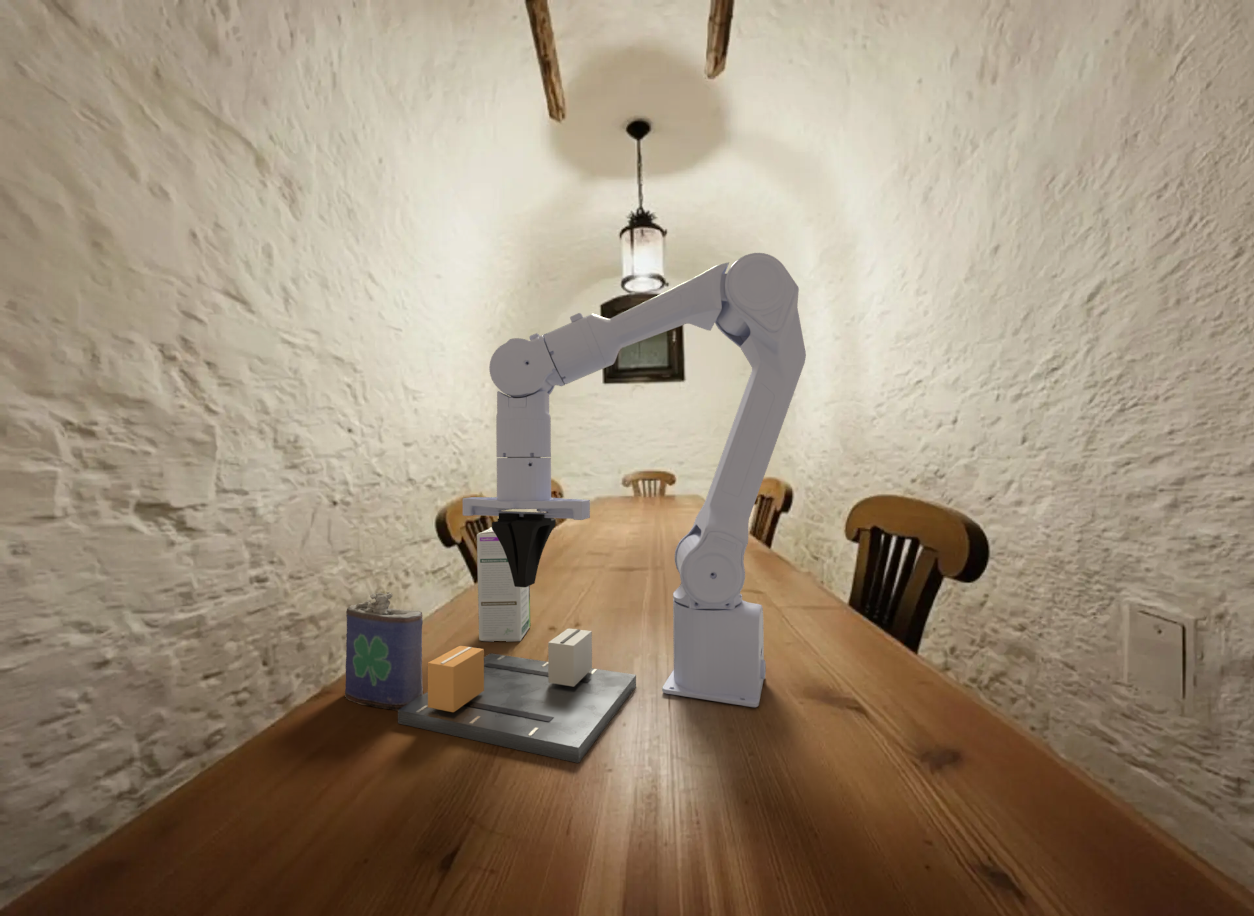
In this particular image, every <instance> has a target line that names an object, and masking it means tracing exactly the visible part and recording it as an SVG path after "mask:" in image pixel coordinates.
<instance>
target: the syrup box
mask: <svg viewBox="0 0 1254 916" xmlns="http://www.w3.org/2000/svg"><path fill="white" fill-rule="evenodd" d="M476 547H477V548H476V553H477V554H476V555H477V558H476V559H477V561H476V562H477V603H478V604H477V605H478V614H477V615H478V641H481V642H494V641H506V642H521V641H522V639H523V637H524V636H525V635H526V633H527V632H528V630H529V629H530V627H531V590H530V588H531V585H530V586H528V587H515V586H514V582H513V578H512V574H511V570H510V566H509V563H508V560H507V557H506V554H505V552H504V549H503V547H502V545H501V543H500V541H499V539H498V538H497V536H496V534H495V533H494V531H493V530H492V526H491V527H489V528H488V529H485V530H483V531H482V532H478V533H477V534H476Z"/></svg>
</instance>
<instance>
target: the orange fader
mask: <svg viewBox="0 0 1254 916" xmlns="http://www.w3.org/2000/svg"><path fill="white" fill-rule="evenodd" d="M484 650H485V649H484V648H480V647H479V648H477V647H472V646H464V645H459V646H457V647H455V648H453V649H450V650H449V651H447V652H446V653H443V654H441V655H440V656H438V657H436V658H434V659H433V660H430V661H428V662H427V692H428V707H429V708H434V709H439V710H444V711H449V712H455V711H456V710H458V709H459V708H460V707H462V706H463V705H465V704H466V703H467V702H469V701H470V700H472V699H473V698H474V697H476V696H477V695H479V694H480V693H481V692H483V691H484V657H485V651H484Z"/></svg>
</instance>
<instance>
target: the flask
mask: <svg viewBox="0 0 1254 916" xmlns="http://www.w3.org/2000/svg"><path fill="white" fill-rule="evenodd" d="M369 595H370V596H369V597H370V598H371V600H375V601H374V602H371V600H366V601H364V602H360V603H357V604H352V605H350V606H348V607H347V608H346V612H345V613H346V615H345V616H346V635H345V638H346V643H345V644H346V645H345V647H346V649H345V650H346V652H345V653H346V654H345V684H344V685H345V691H344V693H345V694H344V697H346V698H345V699H347V700H348V701H351V702H353V703H355V704H356V703H357V704H358V705H362V706H372V707H373V708H378V709H379V708H380V709H386V710H392V711H395V712H396V711H397V712H398V710H399V709H400V708H402V707H404V706H405V705H407V704H408V703H410V702H412V701H413V700H415V699H417V698H418V697H420V696H422V695H423V694H424V691H423V690H424V687H423V654H422V652H423V647H422V645H423V621H424V620H423V612H422V611H419V610H410V609H409V610H408V609H395V608H390V605H391V601H390V599H392V597H393V596H394V595H393V592H390V591H386V593H383V592H376V593H375V592H373V593H371V594H369Z"/></svg>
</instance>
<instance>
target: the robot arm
mask: <svg viewBox="0 0 1254 916" xmlns="http://www.w3.org/2000/svg"><path fill="white" fill-rule="evenodd" d="M729 265H730V262H729V261H728V262H724V263H720V264H717V265H714V266H713V267H711V268H710V269H708V270H707V269H706V270H705V271H704V272H702V273H700V274H698V275H696V276H695V277H693V278H690V279H688V280H687V281H684V282H682V283H681V284H678V285H676V286H674V287H673V288H670V289H668V290H667V291H665V292H662V293H660V294H658V295H657V296H654V297H652V298H649V299H648V300H645V301H644V302H642V303H640V304H637V305H636V306H633V307H631V308H629V309H628V310H626V311H624V312H620V313H619V314H617V315H615V316H612V317H611V318H607V317H603V316H600V315H598V314H595V313H590V314H588V315H586V316H583V314H582V313H581V312H577V313H575V314H572V315H571V316H570V317H569V318H570V323H568V324H564V325H563V326H561V327H558V328H556V329H553V330H551V331H549V332H547V333H544V334H542V335H539V333H538V332H536V333H534V334H531V335H530V336H528V337H529V340H528V339H526V338H519V337H516V338H515V337H514V338H509V339H508V340H507V342H505V343H503V344H502V345H499V346H498V348H497V349H495V351H494V352H493V354H492V356H491V359H490V362H489V369H488V370H489V376H490V377H491V381H492V382H493V384H494V385H495V387H496V388H497V389H498V390H497V391H496V419H495V421H496V422H495V423H496V425H495V426H496V433H495V434H496V441H495V443H496V497H495V496H494V497H493V496H491V497H487V496H485V497H484V496H483V497H482V496H479V497H478V496H476V497H475V496H473V497H463V498H462V516H464V517H471V516H473V517H474V516H486V517H487V516H488V517H489V516H491V517H498V518H497V520H496V521H492V522H491V527H492V530H493V531H494V533H495V534H496V536H497V538H498V539H499V541H500V543H501V545H502V547H503V549H504V552H505V554H506V557H507V560H508V563H509V566H510V570H511V574H512V578H513V582H514V586H515V587H528V586H530V587H531V586H532V585H534V584H536V578H537V573H538V569H539V564H540V561H541V557H542V555H543V551H544V550H545V546H546V544H547V541H548V539H549V537H550V535H551V533H552V531H553V530H554V528H555V526H556V519H570V520H571V519H572V520H574V521H583V520H586V519H587V520H588V519H590V517H591V515H590V514H591V513H590V512H591V511H590V509H591V503H590V502H591V501H590V499H578V498H565V497H564V498H563V497H561V498H560V497H552V447H551V446H552V444H551V443H552V437H551V436H552V434H551V432H552V431H551V430H552V429H551V427H552V420H551V414H550V395H551V394H552V393H553V391H554V389H555V387H556V386H558V387H563V386H566V385H568V384H570V383H572V382H575V381H577V380H579V379H582V378H584V377H587V376H590V375H592V374H594V373H596V372H599V371H600V370H603V369H605V368H608V367H610V366H612V365H614V364H615V363H616V360H617V357H618V354H619V352H620V350H622V349H623V348H625V347H629V346H631V345H633V344H637V343H639V342H642V341H644V340H647V339H649V338H650V339H651V338H652V337H654V336H658V335H660V334H662V333H665V332H668V331H670V330H673V329H676V328H679V327H682V326H684V325H686V324H688V325H692V326H695V327H698V328H701V329H703V330H706V331H708V332H709V331H711V330H712V329H713V326H714V325H715V326H716V327H717V329H718V330H719V331H720V332H721V333H722V334H723V335H724V336H725V337H726V338H728V339H729V340H730V341H731V342H732V343H734V344H735V345H736V346H737V347H739V348H740V350H741V352H742V353H743V355H744V356H745V358H746V360H747V361H748V363H749V366H751V372H750V375H749V377H748V381H747V383H746V385H745V389H744V391H743V394H742V397H741V400H740V403H739V405H738V407H737V412H736V414H735V416H734V420H733V422H732V425H731V428H730V431H729V433H728V436H727V439H726V442H725V444H724V448H723V450H722V452H721V456H720V459H719V462H718V464H717V468H716V469H715V473H714V476H713V478H712V480H711V484H710V487H709V489H708V491H707V492H708V493H707V496H706V498H705V501H704V502H703V505H702V507H701V508H700V510H699V511H698V513H697V515H696V517H695V519H694V522H693V525H692V527H691V529H690V530H688V532H687V534H686V535H684V536H683V537H682V538H681V539H680V540H679V542H678V544H677V545H676V548H675V550H674V564H675V566H676V569H677V572H678V573H679V579H680V584H679V586H678V587H677V588H676V589H675V590H674V591H673V592H672V601H673V602H672V604H673V606H672V611H673V613H672V614H673V616H672V617H673V618H672V619H673V626H672V627H673V629H672V630H673V632H672V633H673V634H672V635H673V638H672V639H673V642H672V643H673V670H672V671H671V673H670V675H669V676H668V677H667V679H666V681H665V683H664V684H663V686H662V688H661V689H662V690H661V691H662V693H664V694H666V695H667V694H668V695H674V696H681V697H686V698H691V699H700V700H706V701H712V702H718V703H723V704H731V705H738V706H744V707H748V708H749V707H750V708H757V707H759V705H760V699H761V694H762V690H763V684H764V680H765V679H766V671H767V670H766V668H767V667H766V659H764V657H765V656H764V655H765V652H764V651H765V650H764V645H765V643H764V642H765V641H764V634H765V633H764V611H763V610H764V608H763V605H762V604H759V603H753V602H748V601H746V600H743V594H741V591H742V590H743V588H744V584H745V581H746V571H745V560H744V559H745V554H746V553H745V552H746V550H747V546H748V543H749V523H750V522H749V520H750V517H751V514H752V512H753V508H754V507H755V503H756V500H757V498H758V494H759V491H760V489H761V486H762V483H763V480H764V478H765V475H766V472H767V469H768V466H769V463H770V461H771V458H772V456H773V453H774V450H775V447H776V444H777V442H778V438H779V435H780V433H781V430H782V428H783V425H784V423H785V419H786V416H787V414H788V410H789V408H790V406H791V403H792V400H793V396H794V394H795V391H796V388H797V385H798V383H799V380H800V377H801V374H802V372H803V368H804V366H805V363H806V356H807V354H806V348H805V342H804V336H803V331H802V324H801V320H800V315H799V314H800V313H799V310H798V309H799V308H798V306H799V305H798V304H799V303H798V301H799V291H800V289H799V288H800V287H799V285H798V284H797V282H796V281H795V280H794V278H793V277H792V275H791V274H790V272H789V271H788V269H787V268H786V266H785V265H784V264H783V263H782V262H781V261H780V260H779V259H778V258H777V257H775V256H773V255H771V254H768V253H765V252H764V253H763V252H752V253H748V254H745V255H743V256H741V257H740V258H738V259H737V260H736V261H734V262H733V264H732V265H731V266H730V268H729V269H728V267H729ZM727 269H728V271H727ZM726 271H727V272H726ZM511 510H514V511H511ZM515 510H536V511H515Z"/></svg>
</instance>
